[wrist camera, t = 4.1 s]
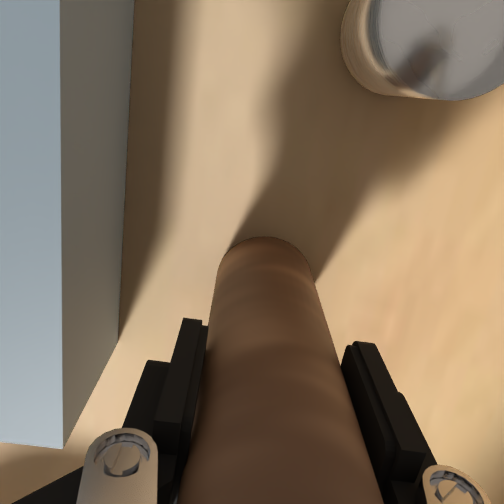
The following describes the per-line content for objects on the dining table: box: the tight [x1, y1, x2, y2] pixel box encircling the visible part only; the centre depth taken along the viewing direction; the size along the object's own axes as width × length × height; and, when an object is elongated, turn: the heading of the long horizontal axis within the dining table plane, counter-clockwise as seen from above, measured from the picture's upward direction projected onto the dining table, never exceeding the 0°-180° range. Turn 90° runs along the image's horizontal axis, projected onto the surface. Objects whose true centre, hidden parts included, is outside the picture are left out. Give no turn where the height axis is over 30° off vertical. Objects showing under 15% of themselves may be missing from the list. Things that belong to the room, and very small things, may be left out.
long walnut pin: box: [177, 237, 384, 504], centre depth 11 cm, size 4×4×15 cm
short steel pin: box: [340, 0, 504, 101], centre depth 12 cm, size 4×4×5 cm
